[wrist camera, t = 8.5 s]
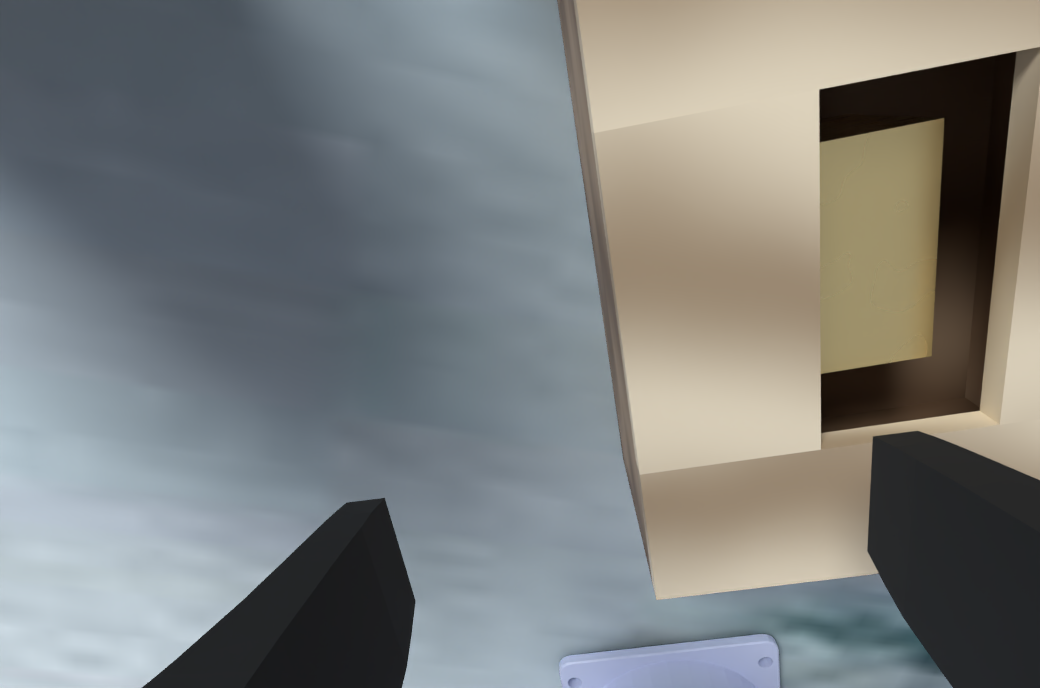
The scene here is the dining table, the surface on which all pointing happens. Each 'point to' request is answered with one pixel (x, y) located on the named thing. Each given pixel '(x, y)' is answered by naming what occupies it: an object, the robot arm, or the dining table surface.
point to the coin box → (795, 263)
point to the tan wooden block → (878, 237)
